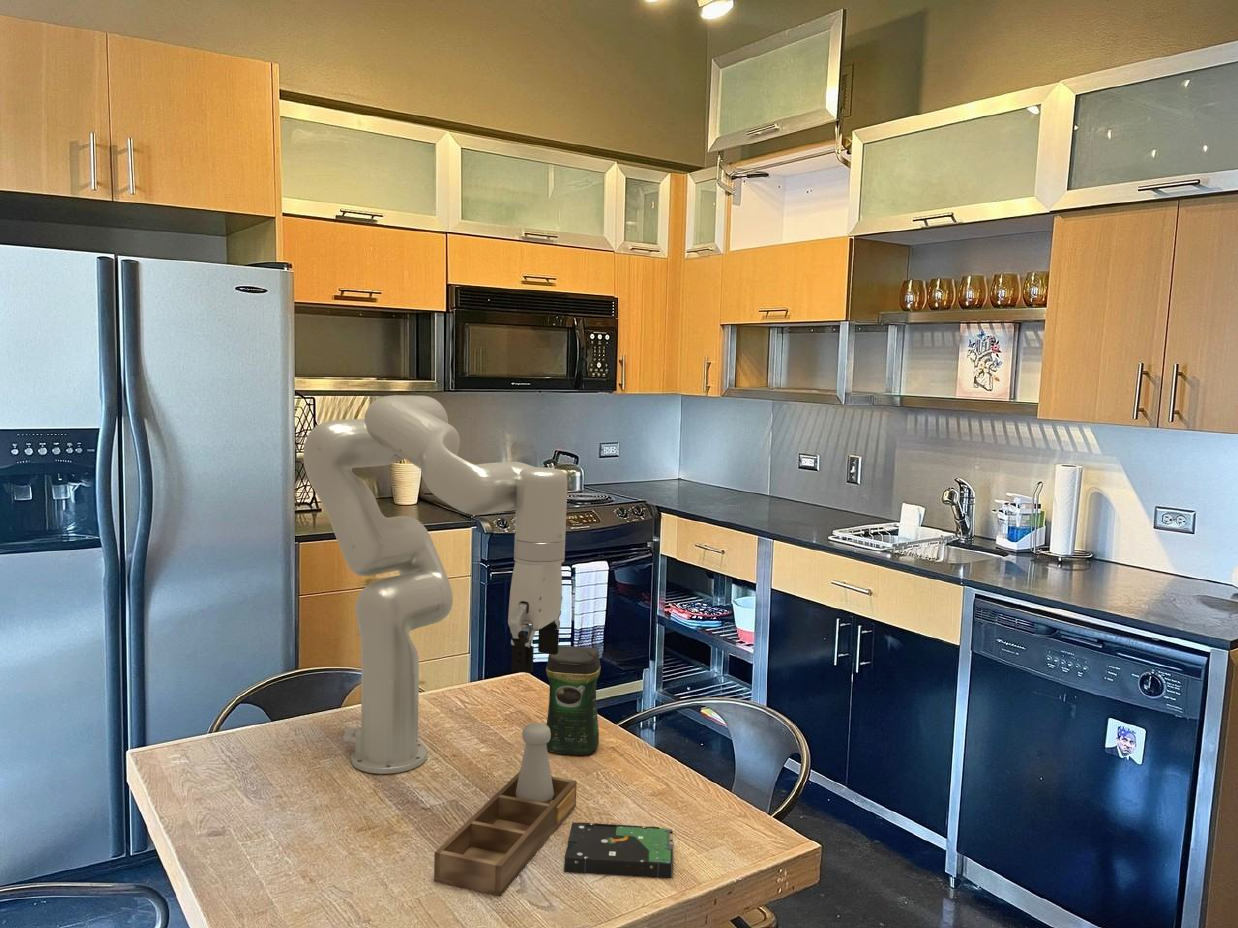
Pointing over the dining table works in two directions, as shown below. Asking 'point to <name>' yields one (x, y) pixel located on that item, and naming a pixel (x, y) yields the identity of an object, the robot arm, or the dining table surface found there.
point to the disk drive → (619, 850)
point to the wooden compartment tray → (502, 838)
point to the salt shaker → (535, 765)
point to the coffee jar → (573, 700)
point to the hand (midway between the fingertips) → (535, 661)
